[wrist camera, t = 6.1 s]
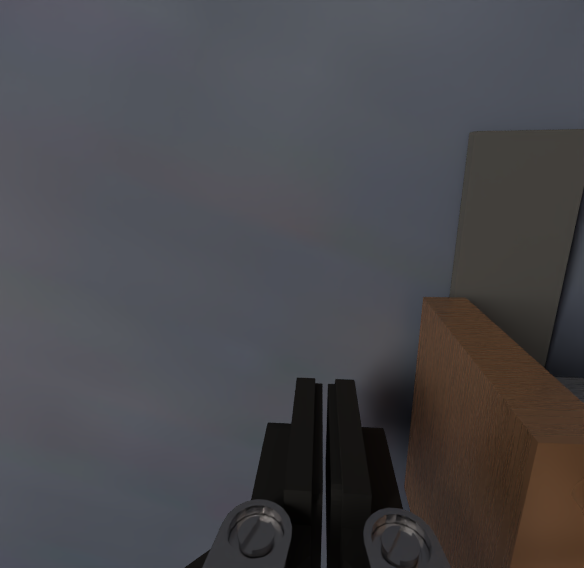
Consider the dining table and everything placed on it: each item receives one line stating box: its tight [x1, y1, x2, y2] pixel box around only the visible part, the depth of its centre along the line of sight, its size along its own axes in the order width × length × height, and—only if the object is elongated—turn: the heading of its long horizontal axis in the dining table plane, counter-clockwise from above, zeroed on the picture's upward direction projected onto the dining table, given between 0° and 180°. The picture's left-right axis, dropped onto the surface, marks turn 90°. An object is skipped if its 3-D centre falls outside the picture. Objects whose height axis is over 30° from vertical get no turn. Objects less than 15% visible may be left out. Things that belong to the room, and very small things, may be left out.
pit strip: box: [449, 129, 584, 368], centre depth 12 cm, size 16×3×1 cm, turn 1°
